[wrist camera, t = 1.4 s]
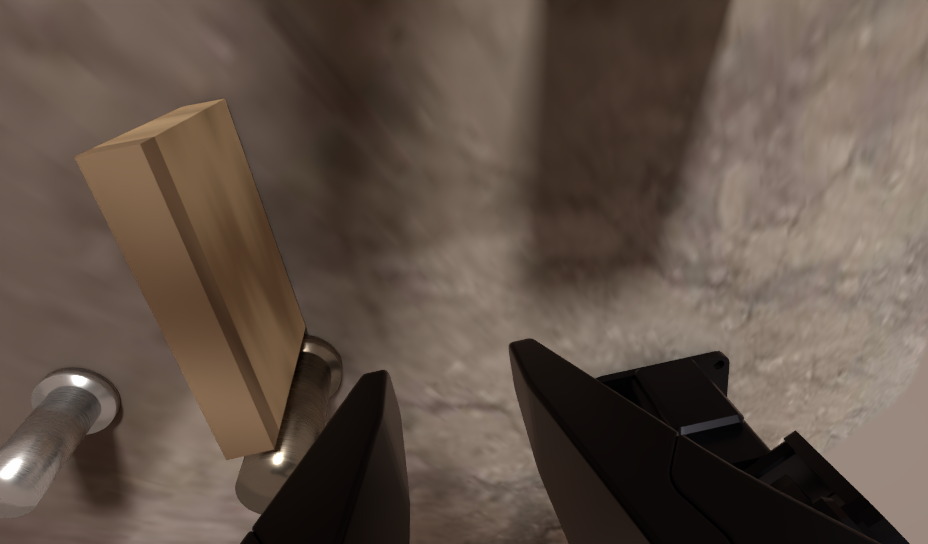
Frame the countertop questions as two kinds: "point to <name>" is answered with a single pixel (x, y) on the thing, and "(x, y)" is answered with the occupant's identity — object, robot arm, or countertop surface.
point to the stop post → (52, 434)
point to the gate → (205, 265)
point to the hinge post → (293, 424)
